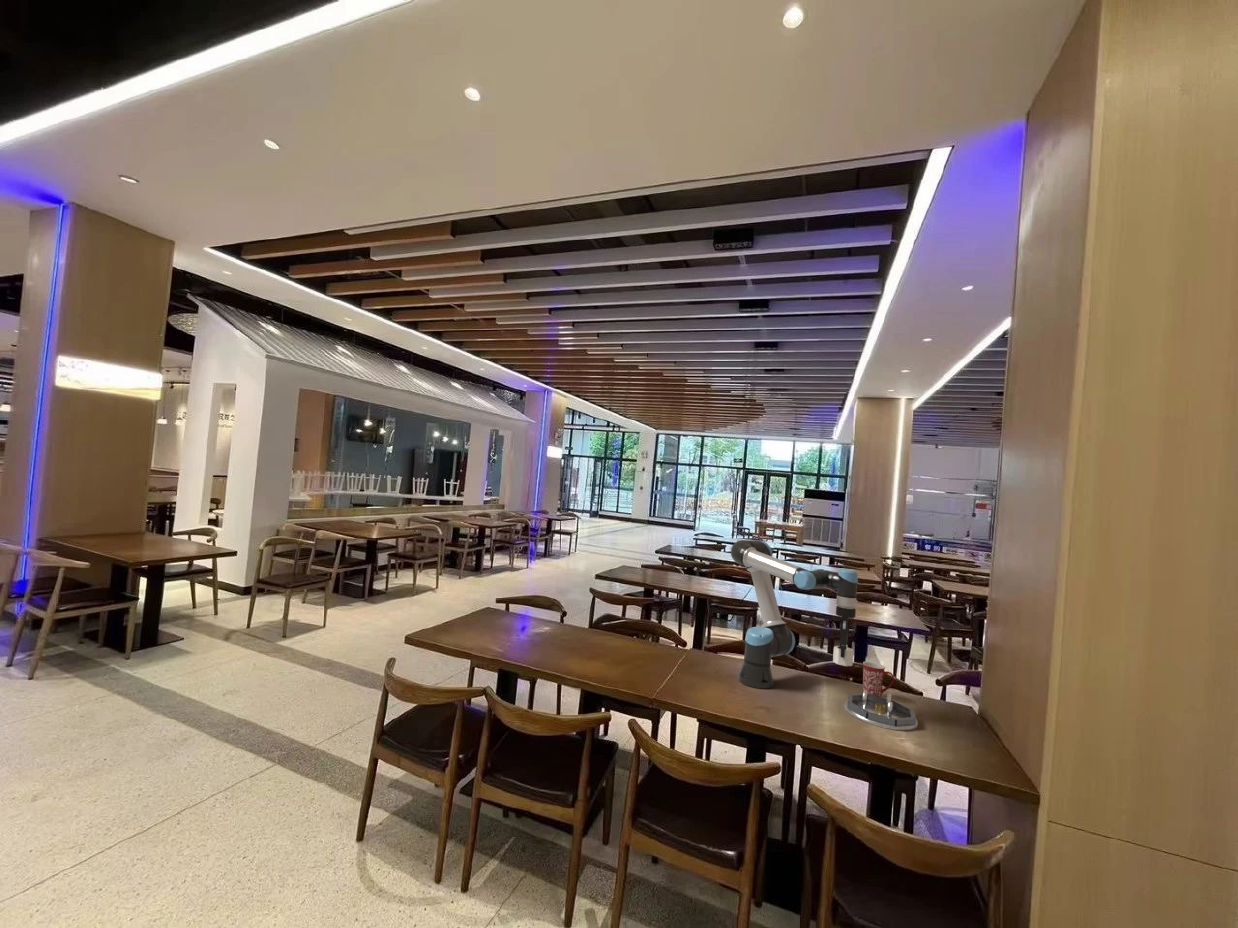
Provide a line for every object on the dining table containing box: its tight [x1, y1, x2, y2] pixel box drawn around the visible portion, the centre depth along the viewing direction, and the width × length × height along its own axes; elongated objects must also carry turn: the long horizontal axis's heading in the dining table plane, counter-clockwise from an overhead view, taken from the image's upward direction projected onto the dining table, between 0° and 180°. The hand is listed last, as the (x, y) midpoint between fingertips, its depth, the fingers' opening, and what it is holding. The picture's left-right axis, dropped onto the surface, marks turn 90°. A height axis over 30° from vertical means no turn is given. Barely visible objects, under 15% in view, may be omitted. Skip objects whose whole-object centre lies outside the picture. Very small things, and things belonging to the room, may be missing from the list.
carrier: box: [844, 690, 919, 732], centre depth 212 cm, size 26×26×8 cm
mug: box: [862, 661, 895, 697], centre depth 232 cm, size 13×9×14 cm
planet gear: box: [832, 645, 854, 667], centre depth 218 cm, size 7×7×6 cm
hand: (842, 662), depth 218 cm, fingers closed on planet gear, 7 cm apart
